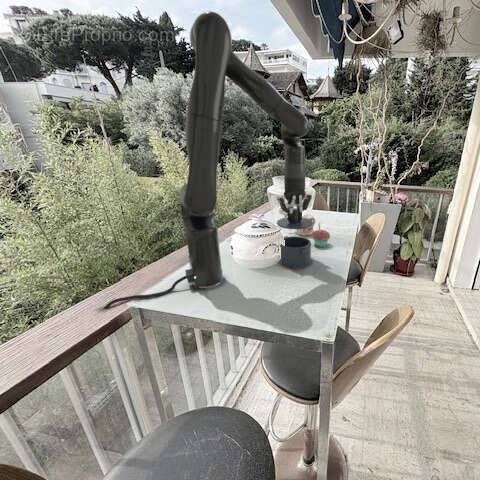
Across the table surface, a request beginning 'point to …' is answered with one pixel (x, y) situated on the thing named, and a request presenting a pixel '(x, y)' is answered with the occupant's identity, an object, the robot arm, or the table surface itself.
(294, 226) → the lid
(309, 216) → the teacup with lid
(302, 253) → the pot
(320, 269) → the table surface
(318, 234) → the cupcake
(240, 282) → the table surface
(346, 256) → the table surface
